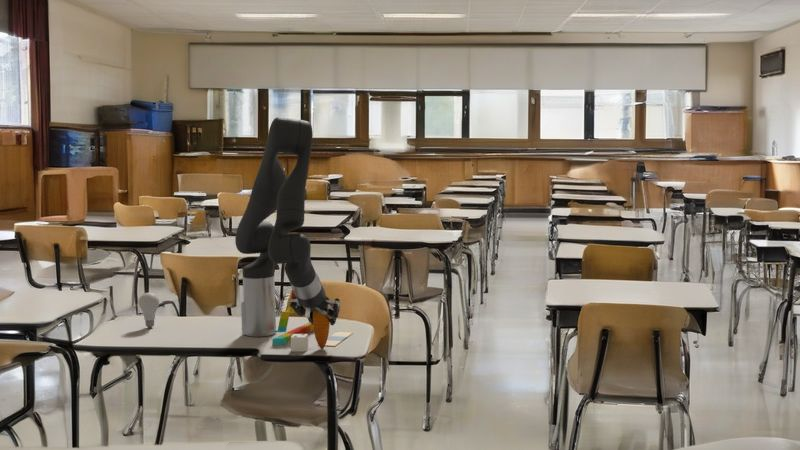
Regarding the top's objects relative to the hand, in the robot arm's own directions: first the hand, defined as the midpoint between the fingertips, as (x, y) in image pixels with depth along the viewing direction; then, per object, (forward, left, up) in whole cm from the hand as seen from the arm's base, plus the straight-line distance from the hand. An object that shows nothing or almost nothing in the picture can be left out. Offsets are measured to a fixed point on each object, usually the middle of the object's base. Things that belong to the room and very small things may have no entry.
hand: (323, 322), depth 258 cm
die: (-6, -3, -7) cm, 10 cm away
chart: (-13, +16, -8) cm, 22 cm away
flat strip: (0, +10, -7) cm, 12 cm away
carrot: (0, -2, -7) cm, 8 cm away
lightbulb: (-61, +14, -7) cm, 63 cm away
